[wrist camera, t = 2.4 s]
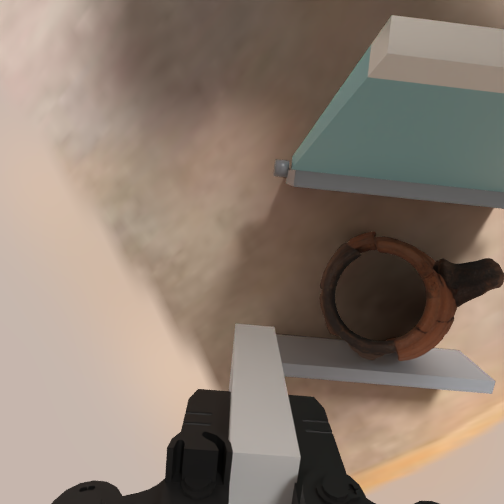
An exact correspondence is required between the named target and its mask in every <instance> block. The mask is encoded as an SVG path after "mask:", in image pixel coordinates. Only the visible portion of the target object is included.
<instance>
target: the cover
mask: <svg viewBox="0 0 504 504" xmlns="http://www.w3.org/2000/svg"><path fill="white" fill-rule="evenodd" d="M291 170H300V171H310V172H319V173H328V174H338V175H347V176H356V177H366V178H375V179H384V180H394V181H403V182H412V183H422V184H431V185H440V186H450V187H459V188H468V189H478V190H487V191H496V192H504V29H499V28H491V27H483V26H475V25H467V24H459V23H452V22H444V21H436V20H428V19H420V18H412V17H404V16H396V15H391V17H390V18H389V20H388V21H387V22H386V24H385V25H384V27H383V28H382V29H381V31H380V32H379V34H378V35H377V37H376V38H375V39H374V41H373V42H372V44H371V45H370V47H369V48H368V49H367V51H366V52H365V54H364V55H363V57H362V58H361V59H360V61H359V62H358V64H357V65H356V67H355V68H354V69H353V71H352V72H351V74H350V75H349V76H348V78H347V79H346V81H345V82H344V84H343V85H342V86H341V88H340V89H339V91H338V92H337V94H336V95H335V96H334V98H333V99H332V101H331V102H330V104H329V105H328V106H327V108H326V109H325V111H324V112H323V113H322V115H321V116H320V118H319V119H318V121H317V122H316V123H315V125H314V126H313V128H312V129H311V131H310V132H309V133H308V135H307V136H306V138H305V139H304V141H303V142H302V143H301V145H300V146H299V148H298V149H297V151H296V152H295V153H294V155H293V156H292V166H291Z"/></svg>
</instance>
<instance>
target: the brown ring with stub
mask: <svg viewBox="0 0 504 504" xmlns="http://www.w3.org/2000/svg"><path fill="white" fill-rule="evenodd" d="M375 236H376V233H375V232H374V231H372V232H367V233H364V234H361V235H358V236H356V237H354V238H352V239H350V240H349V242H348V243H344V244H342V245H341V246H340V247H339V249H338V250H337V251H336V252H335V254H334V255H333V257H332V258H331V260H330V261H329V263H328V265H327V267H326V269H325V271H324V273H323V277H322V280H321V284H320V287H321V289H322V292H321V294H320V304H321V308H322V312H323V315H324V318H325V322H326V325H327V328H328V330H329V332H330V334H333V335H335V336H340V337H341V338H342V339H343V340H344V341H346V342H347V343H348V345H349V346H350V348H351V349H352V350H353V351H355V352H357V353H358V355H359V356H360V357H362V358H365V359H368V360H375V359H376V358H379V357H382V356H383V355H385V354H390V353H394V352H397V354H398V360H399V361H405V360H411V359H415V358H418V357H420V356H422V355H424V354H426V353H427V352H429V351H430V350H431V349H433V348H434V347H435V346H436V345H437V344H438V343H439V342H440V341H441V340H442V339H443V337H444V336H445V334H447V332H448V331H449V329H450V327H451V325H452V323H453V321H454V315H455V312H456V310H457V307H459V306H461V305H462V304H463V303H465V302H467V301H469V300H472V299H474V298H476V297H479V296H481V295H483V294H484V293H486V292H487V291H489V290H492V289H495V288H500V287H501V285H502V284H503V282H504V273H503V271H502V269H501V267H500V265H499V264H498V263H496V262H495V261H493V260H492V259H490V258H485V259H482V260H478V261H474V262H467V263H462V264H453V263H450V262H448V261H447V260H445V259H443V258H442V259H440V261H436V262H435V261H434V259H433V258H431V257H430V256H428V255H427V254H426V253H424V252H422V251H421V250H419V249H418V248H416V247H415V246H412V245H410V244H408V243H405V242H402V241H400V240H397V239H394V238H389V237H375ZM369 250H378V252H380V253H388V254H392V255H396V256H398V257H400V258H402V259H404V260H406V261H407V262H408V263H410V264H411V265H412V266H413V267H414V268H415V269H416V270H417V272H418V273H419V275H420V276H421V278H422V279H423V282H424V285H425V290H426V305H425V310H424V312H423V315H422V317H421V319H420V321H419V322H418V323H417V325H416V326H415V327H414V328H413V329H412V330H410V331H409V332H408V333H406V334H405V335H403V336H400V337H397V338H389V339H387V341H374V340H369V339H366V338H364V337H361V336H359V335H357V334H355V333H354V332H353V331H351V330H350V329H349V328H348V327H347V326H346V325H345V324H344V322H343V321H342V319H341V318H340V316H339V313H338V311H337V307H336V303H335V290H336V286H337V282H338V280H339V278H340V275H341V274H342V272H343V271H344V269H345V268H346V267H347V266H348V265H349V264H350V263H351V262H352V261H354V260H355V259H357V258H358V257H360V256H361V253H362V252H366V251H369Z"/></svg>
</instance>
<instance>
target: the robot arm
mask: <svg viewBox="0 0 504 504" xmlns="http://www.w3.org/2000/svg"><path fill="white" fill-rule="evenodd" d="M52 504H375V503H373V502H371V501H370V500H368V499H367V498H366V496H365V494H364V492H363V491H362V489H361V487H360V486H359V484H358V483H357V482H355V481H354V480H353V479H352V478H351V477H350V476H348V475H347V474H346V471H345V468H344V465H343V462H342V459H341V456H340V454H339V451H338V448H337V445H336V442H335V439H334V436H333V434H332V430H331V427H330V424H329V423H328V418H327V415H326V413H325V410H324V408H323V407H322V405H321V404H320V403H319V402H318V401H317V400H316V399H315V398H314V397H308V396H295V395H288V392H287V387H286V382H285V377H284V372H283V367H282V362H281V357H280V352H279V347H278V342H277V337H276V332H275V327H271V326H259V325H248V324H236V323H235V333H234V343H233V353H232V363H231V373H230V383H229V391H216V390H204V389H198V390H197V391H196V392H195V393H194V394H193V395H192V396H191V397H190V398H189V400H188V405H187V409H186V414H185V417H184V421H183V426H182V430H181V432H180V433H179V434H177V435H176V436H175V437H174V438H172V440H171V442H170V444H169V445H168V447H167V461H166V476H165V479H164V480H163V481H162V482H160V483H159V484H158V485H156V486H154V487H152V488H151V489H149V490H146V491H142V492H139V493H135V494H130V495H126V496H122V494H121V493H120V491H119V490H118V489H117V487H115V486H114V485H112V484H110V483H108V482H103V481H90V482H84V483H80V484H78V485H76V486H74V487H72V488H70V489H68V490H66V491H65V492H64V493H62V494H61V495H60V496H59V497H58V498H57V499H55V500H54V501H53V503H52ZM415 504H439V503H436V502H433V501H419V502H417V503H415Z"/></svg>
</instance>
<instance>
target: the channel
mask: <svg viewBox="0 0 504 504" xmlns="http://www.w3.org/2000/svg"><path fill="white" fill-rule="evenodd" d="M274 176H277V177H286V184H288V185H291V186H293V187H303V188H312V189H322V190H331V191H341V192H350V193H360V194H369V195H379V196H388V197H398V198H407V199H417V200H426V201H436V202H445V203H455V204H464V205H474V206H483V207H493V208H502V209H504V192H496V191H487V190H477V189H468V188H459V187H449V186H440V185H431V184H421V183H412V182H403V181H393V180H384V179H375V178H365V177H356V176H347V175H337V174H328V173H319V172H310V171H300V170H289V161H287V160H278V159H276V160H275V165H274ZM276 337H277V342H278V347H279V352H280V357H281V362H282V367H283V372H284V376H286V377H298V378H310V379H322V380H334V381H346V382H358V383H370V384H382V385H394V386H406V387H418V388H430V389H441V390H453V391H465V392H477V393H489V394H492V392H493V388H494V385H495V380H493V379H492V378H491V377H490V376H489V375H488V374H486V373H485V372H484V371H483V370H482V369H481V368H479V367H478V366H477V365H476V364H475V363H474V362H472V361H471V360H470V359H469V358H468V357H467V356H465V355H464V354H463V353H462V352H461V351H459V350H450V349H438V348H433V349H431V350H430V351H429V352H427V353H426V354H424V355H422V356H420V357H418V358H415V359H411V360H405V361H399V360H398V354H397V352H394V353H390V354H385V355H383V356H382V357H379V358H376V359H375V360H368V359H365V358H362V357H360V356H359V355H358V353H357V352H355V351H353V350H352V349H351V348H350V346H349V345H348V343H347V342H346V341H344V340H337V339H325V338H314V337H303V336H292V335H280V334H276Z"/></svg>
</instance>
